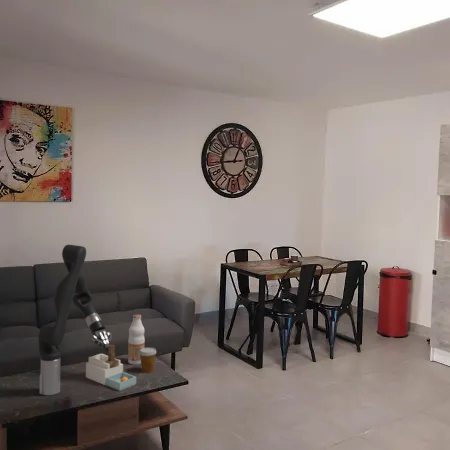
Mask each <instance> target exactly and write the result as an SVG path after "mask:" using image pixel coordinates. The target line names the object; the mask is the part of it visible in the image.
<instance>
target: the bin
mask: <svg viewBox="0 0 450 450" xmlns="http://www.w3.org/2000/svg"><path fill="white" fill-rule="evenodd" d="M122 377H127V378H128V380H126V381H123V382H121V378H122ZM136 385H137V376H135V375H132V374H130V373H127V372H124V371H123V372H120V373H117V374H115V375H112V376H109V377H106V385H105V386H107V387H110V388H112V389H114V390H117V391H123V390H125V389H128V388H131V387H134V386H136Z"/></svg>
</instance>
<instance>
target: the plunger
mask: <svg viewBox="0 0 450 450" xmlns="http://www.w3.org/2000/svg"><path fill="white" fill-rule="evenodd" d="M115 349H116V346H115V345H114V344H109V345H108V352H107V353H108V354H107V356H108V360H107V361H105V362H106V363H108V364H110V368H113V367H116V366H118V360H119V359H118V358H116V353H115V352H116V350H115ZM117 359H118V360H117Z"/></svg>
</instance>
